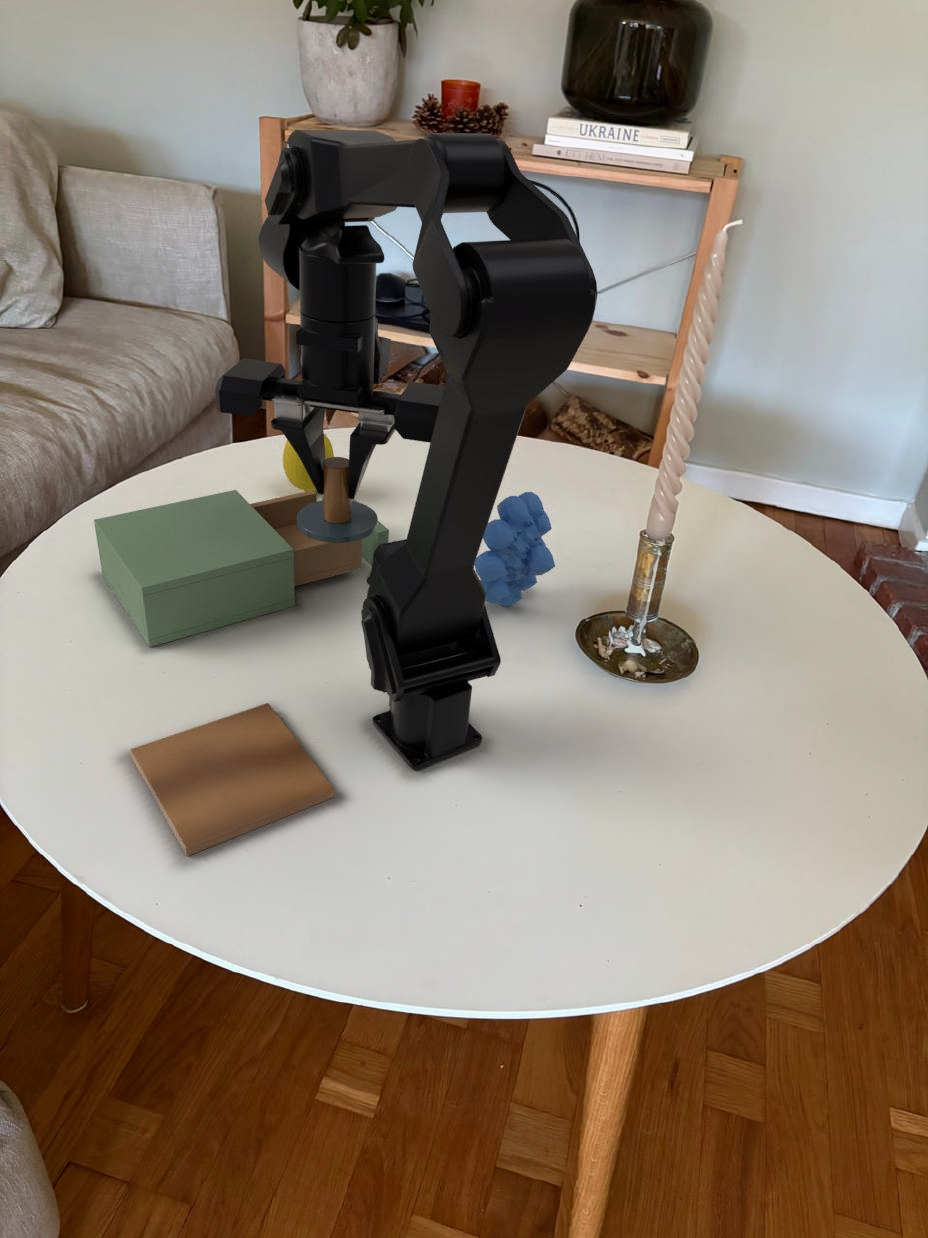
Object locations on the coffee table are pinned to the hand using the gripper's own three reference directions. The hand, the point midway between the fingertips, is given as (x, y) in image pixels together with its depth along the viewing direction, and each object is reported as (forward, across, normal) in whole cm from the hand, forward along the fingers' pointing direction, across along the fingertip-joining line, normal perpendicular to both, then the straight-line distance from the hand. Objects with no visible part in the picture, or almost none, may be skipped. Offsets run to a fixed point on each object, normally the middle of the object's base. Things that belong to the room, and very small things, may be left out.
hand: (337, 494), depth 82 cm
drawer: (+11, +5, -7) cm, 14 cm away
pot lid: (+3, 0, 0) cm, 3 cm away
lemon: (+11, +10, -21) cm, 25 cm away
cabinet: (+12, +13, +1) cm, 17 cm away
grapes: (+12, -16, -5) cm, 21 cm away
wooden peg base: (+12, +1, +23) cm, 26 cm away
